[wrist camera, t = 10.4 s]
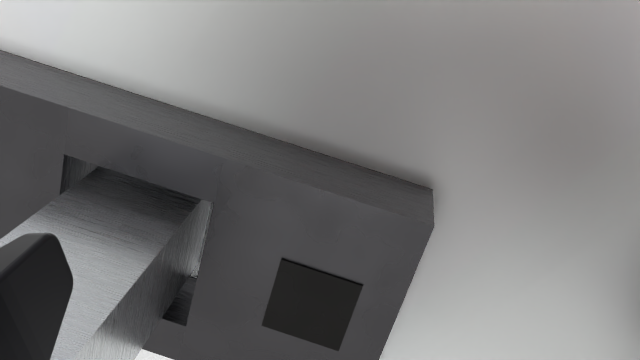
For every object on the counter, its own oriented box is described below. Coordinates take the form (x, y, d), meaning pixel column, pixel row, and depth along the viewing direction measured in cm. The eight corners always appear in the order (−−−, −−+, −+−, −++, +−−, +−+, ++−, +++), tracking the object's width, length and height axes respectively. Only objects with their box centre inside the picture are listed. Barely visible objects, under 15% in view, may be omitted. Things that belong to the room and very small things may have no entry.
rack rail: (432, 189, 22) (434, 227, 20) (360, 368, 26) (353, 421, 23) (-68, 28, 23) (-136, 42, 20) (-68, 225, 27) (-126, 261, 24)
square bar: (219, 178, 24) (17, 433, 12) (200, 265, 25) (6, 563, 13) (119, 146, 24) (-182, 365, 12) (106, 234, 25) (-168, 502, 14)
